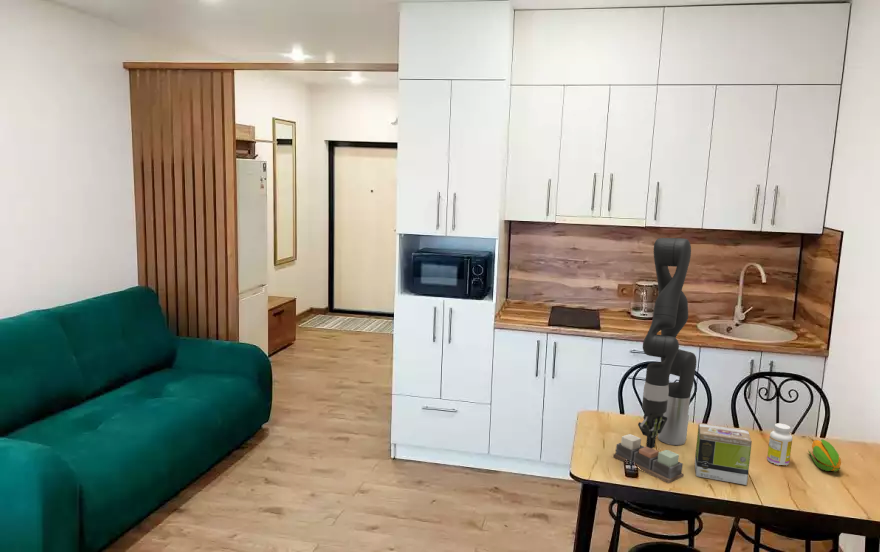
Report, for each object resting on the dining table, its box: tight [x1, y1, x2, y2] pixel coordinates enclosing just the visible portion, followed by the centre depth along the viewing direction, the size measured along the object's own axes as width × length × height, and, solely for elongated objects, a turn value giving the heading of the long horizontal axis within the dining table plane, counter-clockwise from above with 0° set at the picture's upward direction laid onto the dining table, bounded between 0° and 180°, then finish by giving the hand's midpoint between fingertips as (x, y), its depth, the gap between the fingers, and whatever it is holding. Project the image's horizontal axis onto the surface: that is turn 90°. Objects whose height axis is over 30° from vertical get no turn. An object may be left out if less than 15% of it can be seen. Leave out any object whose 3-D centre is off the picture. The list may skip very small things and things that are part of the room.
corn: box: [807, 439, 842, 472], centre depth 218 cm, size 7×8×20 cm
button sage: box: [657, 449, 680, 467], centre depth 203 cm, size 4×4×4 cm
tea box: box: [694, 422, 753, 486], centre depth 205 cm, size 15×10×15 cm
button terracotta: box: [639, 446, 660, 458], centre depth 209 cm, size 4×4×4 cm
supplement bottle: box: [766, 422, 793, 466], centre depth 216 cm, size 7×7×13 cm
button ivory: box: [620, 433, 642, 450], centre depth 214 cm, size 4×4×4 cm
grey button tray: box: [612, 442, 684, 484], centre depth 209 cm, size 8×21×4 cm, turn 37°
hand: (650, 447), depth 209 cm, fingers closed
